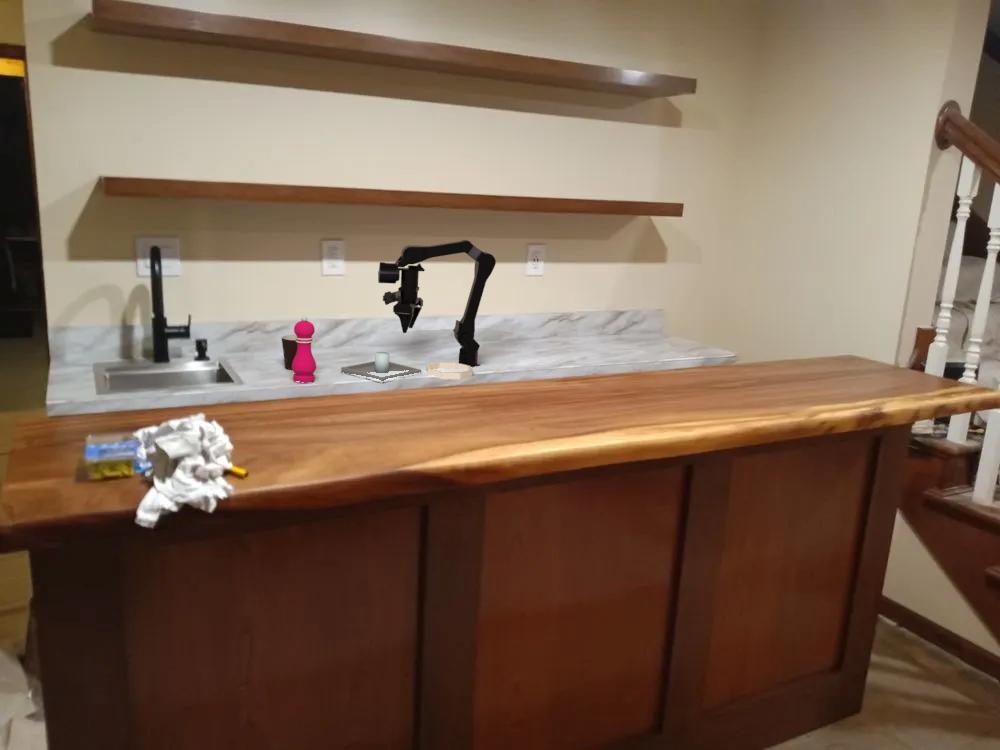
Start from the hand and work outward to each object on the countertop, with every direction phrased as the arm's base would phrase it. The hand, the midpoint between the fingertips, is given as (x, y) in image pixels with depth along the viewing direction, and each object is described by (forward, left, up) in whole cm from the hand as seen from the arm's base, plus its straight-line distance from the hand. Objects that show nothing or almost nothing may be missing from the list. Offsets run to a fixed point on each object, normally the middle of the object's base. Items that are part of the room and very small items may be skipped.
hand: (407, 330), depth 266 cm
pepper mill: (+40, -5, -12) cm, 42 cm away
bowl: (-1, +18, -12) cm, 22 cm away
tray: (+15, +3, -12) cm, 19 cm away
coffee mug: (+30, -20, -12) cm, 38 cm away
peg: (+15, +3, -11) cm, 19 cm away
